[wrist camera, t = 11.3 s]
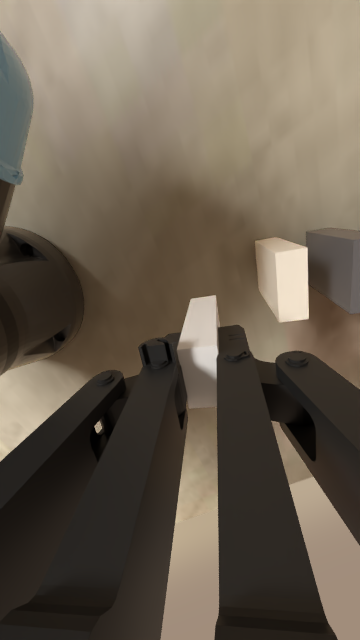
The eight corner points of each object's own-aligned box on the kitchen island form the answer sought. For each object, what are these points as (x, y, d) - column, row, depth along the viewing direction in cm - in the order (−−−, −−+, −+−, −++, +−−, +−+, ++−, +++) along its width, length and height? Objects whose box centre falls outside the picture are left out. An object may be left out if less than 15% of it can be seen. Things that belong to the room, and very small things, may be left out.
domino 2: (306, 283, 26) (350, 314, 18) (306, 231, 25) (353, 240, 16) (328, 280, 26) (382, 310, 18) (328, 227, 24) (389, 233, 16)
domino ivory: (258, 290, 27) (279, 322, 19) (254, 240, 26) (275, 252, 17) (278, 287, 27) (308, 319, 19) (275, 237, 25) (307, 247, 17)
